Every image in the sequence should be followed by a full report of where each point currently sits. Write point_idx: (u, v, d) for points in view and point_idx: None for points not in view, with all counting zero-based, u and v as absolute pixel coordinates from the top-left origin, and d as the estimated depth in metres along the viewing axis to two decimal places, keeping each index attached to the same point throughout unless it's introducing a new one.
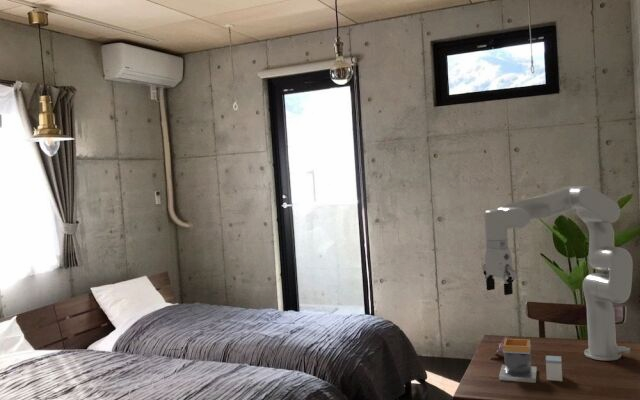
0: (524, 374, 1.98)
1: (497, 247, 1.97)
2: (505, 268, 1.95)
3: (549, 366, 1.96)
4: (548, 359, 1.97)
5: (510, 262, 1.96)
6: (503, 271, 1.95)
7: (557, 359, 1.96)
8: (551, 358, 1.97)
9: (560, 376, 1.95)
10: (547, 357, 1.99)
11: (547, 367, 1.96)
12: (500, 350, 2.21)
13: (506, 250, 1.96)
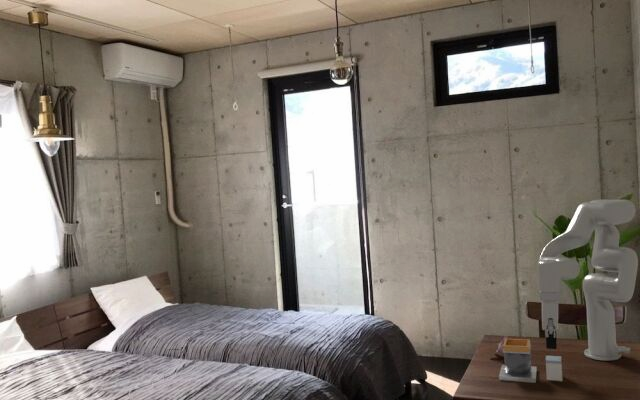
0: (524, 374, 1.98)
1: None
2: None
3: (549, 366, 1.96)
4: (548, 359, 1.97)
5: None
6: None
7: (557, 359, 1.96)
8: (551, 358, 1.97)
9: (560, 376, 1.95)
10: (547, 357, 1.99)
11: (547, 367, 1.96)
12: (500, 350, 2.21)
13: None
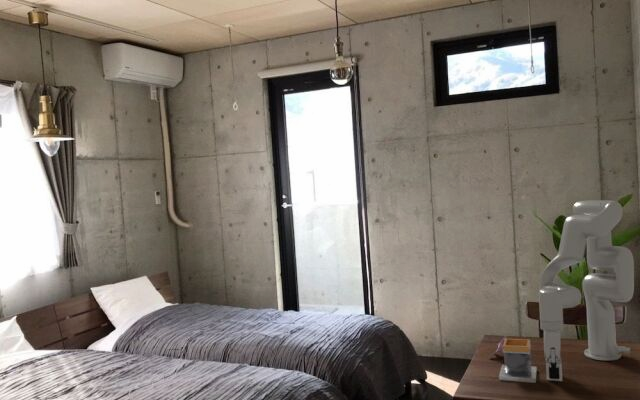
0: (524, 374, 1.98)
1: None
2: None
3: None
4: (548, 359, 1.97)
5: None
6: None
7: None
8: None
9: (560, 376, 1.95)
10: None
11: (547, 367, 1.96)
12: (499, 350, 2.21)
13: None
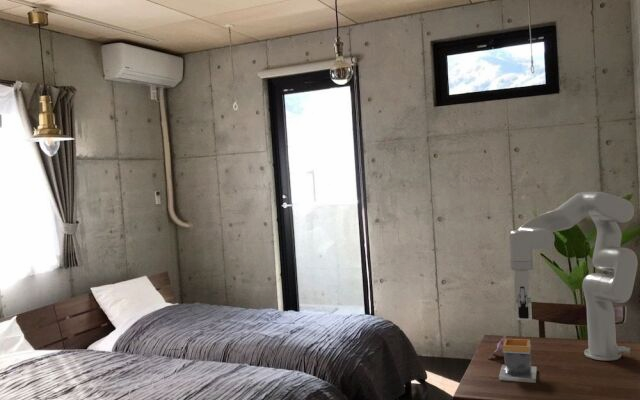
0: (524, 374, 1.98)
1: None
2: None
3: None
4: (518, 299, 1.99)
5: None
6: None
7: (527, 299, 1.98)
8: None
9: (529, 315, 1.97)
10: (517, 298, 2.01)
11: (517, 307, 1.98)
12: (498, 350, 2.21)
13: None
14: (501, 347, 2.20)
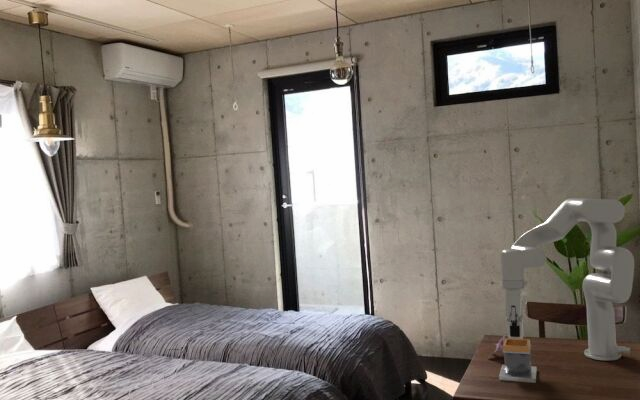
0: (524, 374, 1.98)
1: None
2: None
3: None
4: (509, 318, 2.01)
5: None
6: None
7: (518, 318, 2.00)
8: None
9: (520, 334, 1.98)
10: (509, 316, 2.03)
11: (508, 325, 2.00)
12: (498, 350, 2.21)
13: None
14: (501, 347, 2.20)
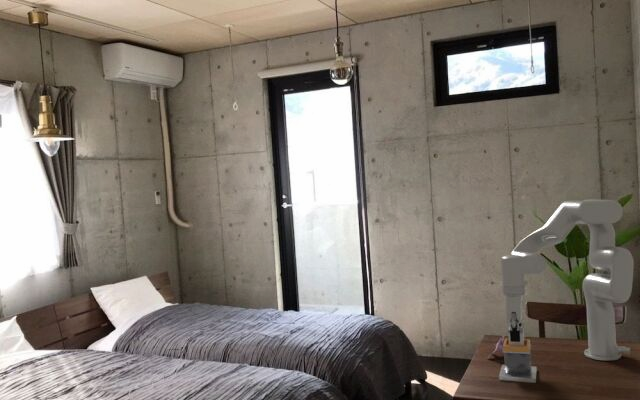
0: (524, 374, 1.98)
1: None
2: None
3: None
4: None
5: None
6: None
7: (519, 329, 2.00)
8: None
9: (522, 345, 1.99)
10: None
11: (509, 337, 2.00)
12: (497, 350, 2.21)
13: None
14: (500, 347, 2.20)
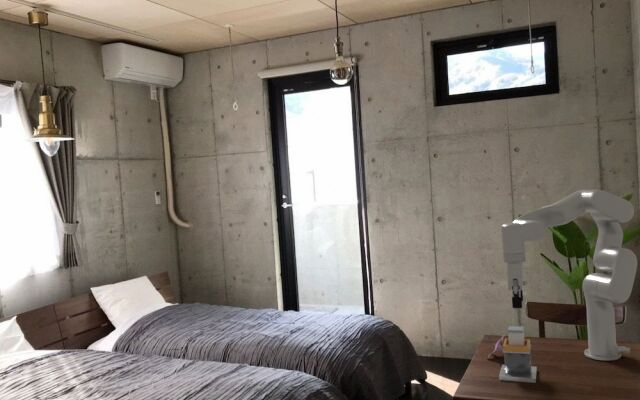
0: (524, 374, 1.98)
1: None
2: None
3: (511, 335, 2.00)
4: (510, 329, 2.01)
5: None
6: None
7: (519, 329, 2.00)
8: (514, 328, 2.02)
9: (522, 345, 1.99)
10: (510, 327, 2.03)
11: (509, 337, 2.00)
12: (497, 350, 2.21)
13: None
14: (499, 347, 2.20)
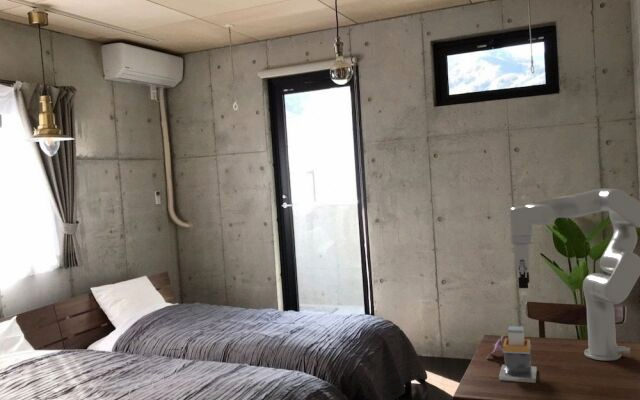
0: (524, 374, 1.98)
1: None
2: None
3: (511, 335, 2.00)
4: (510, 329, 2.01)
5: None
6: None
7: (519, 329, 2.00)
8: (514, 328, 2.02)
9: (522, 345, 1.99)
10: (510, 327, 2.03)
11: (509, 337, 2.00)
12: (496, 350, 2.21)
13: None
14: (499, 347, 2.20)
